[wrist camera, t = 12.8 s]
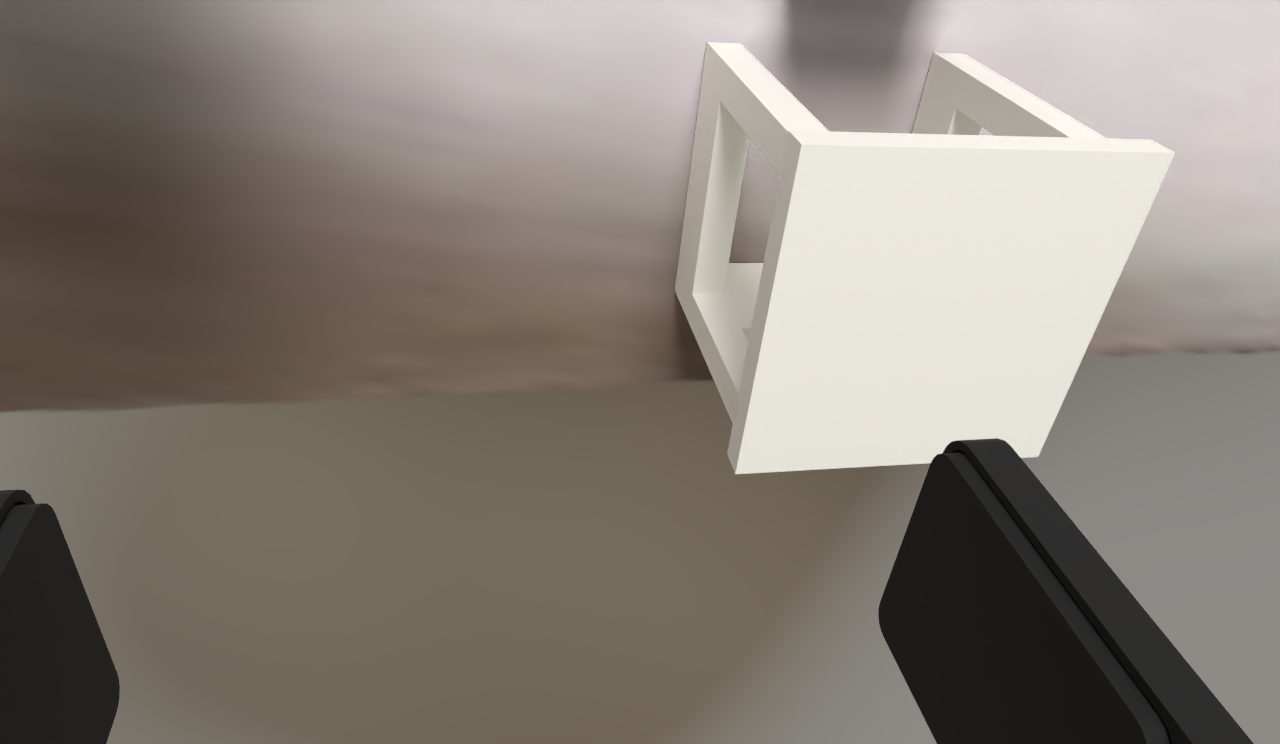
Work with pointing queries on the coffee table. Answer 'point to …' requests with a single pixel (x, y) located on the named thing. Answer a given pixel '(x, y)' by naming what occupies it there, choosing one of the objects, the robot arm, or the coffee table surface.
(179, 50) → the coffee table surface
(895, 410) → the white open frame box
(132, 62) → the coffee table surface
